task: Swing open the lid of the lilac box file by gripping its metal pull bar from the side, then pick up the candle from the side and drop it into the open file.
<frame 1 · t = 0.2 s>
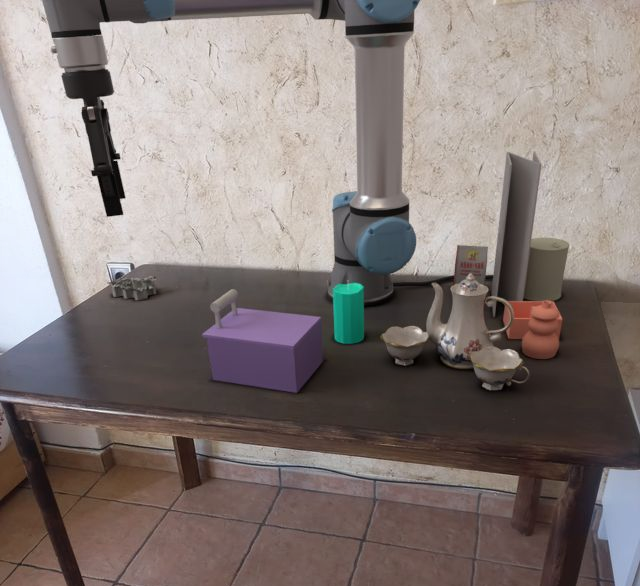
hand: (116, 207, 109), 28 cm above the table, tool pointing down, fingers open, 13 cm apart
small printed carton: (468, 289, 144), on the table
chinaware: (455, 366, 112), on the table
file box: (269, 370, 114), on the table
pottery: (533, 339, 120), on the table
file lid: (261, 314, 108), point 11 cm above the table, hinge at 0.0°
can: (539, 295, 139), on the table
egg carton: (134, 295, 151), on the table
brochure: (505, 305, 135), on the table
candle: (349, 338, 124), on the table
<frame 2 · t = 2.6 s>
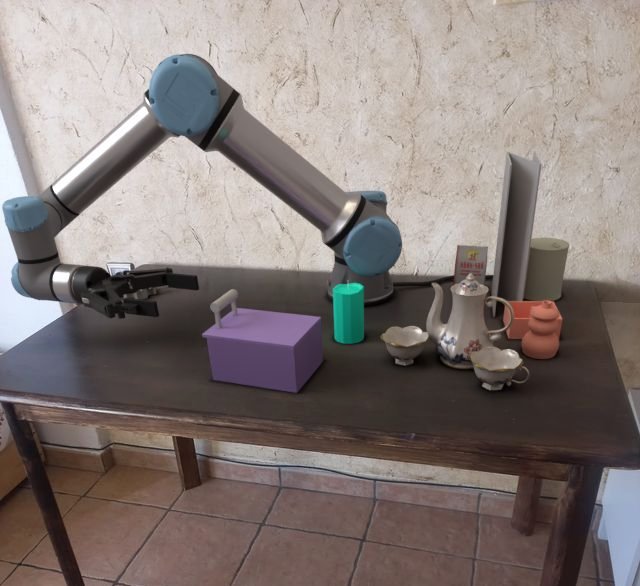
hand: (178, 295, 112), 13 cm above the table, tool horizontal, fingers open, 13 cm apart
nothing on the table moved.
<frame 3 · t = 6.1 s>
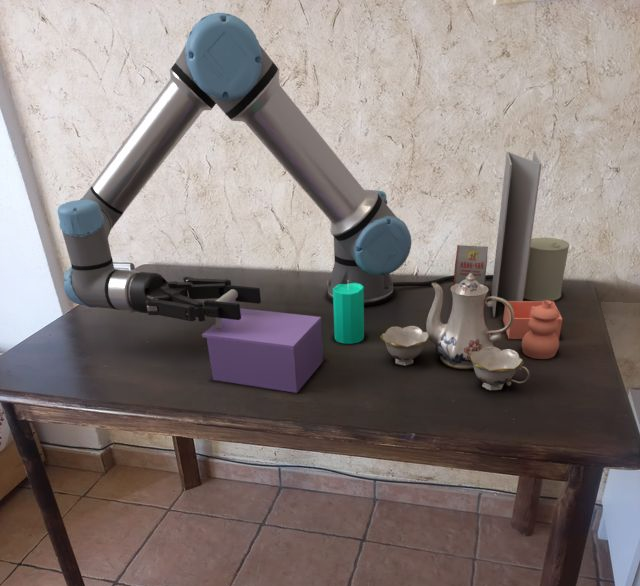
hand: (249, 303, 108), 13 cm above the table, tool horizontal, fingers closed on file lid, 7 cm apart
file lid: (261, 314, 108), point 11 cm above the table, hinge at 0.0°, touching gripper
everything else where it was.
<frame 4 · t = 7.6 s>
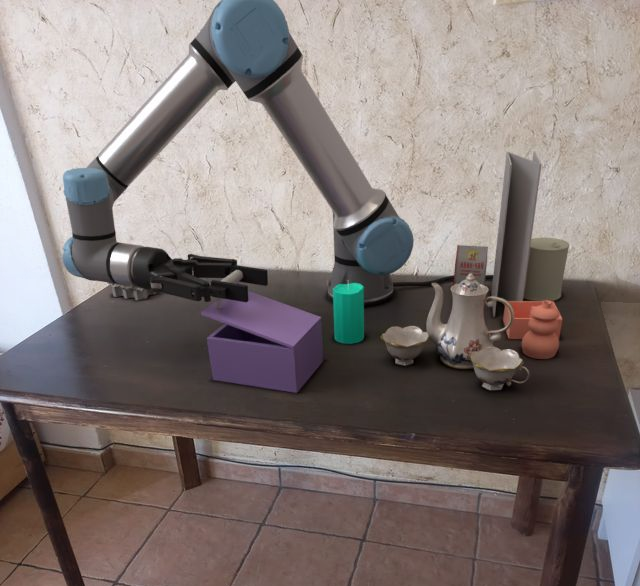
hand: (257, 285, 105), 16 cm above the table, tool horizontal, fingers closed on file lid, 7 cm apart
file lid: (264, 303, 107), point 13 cm above the table, hinge at 14.1°, touching gripper
everything else where it was.
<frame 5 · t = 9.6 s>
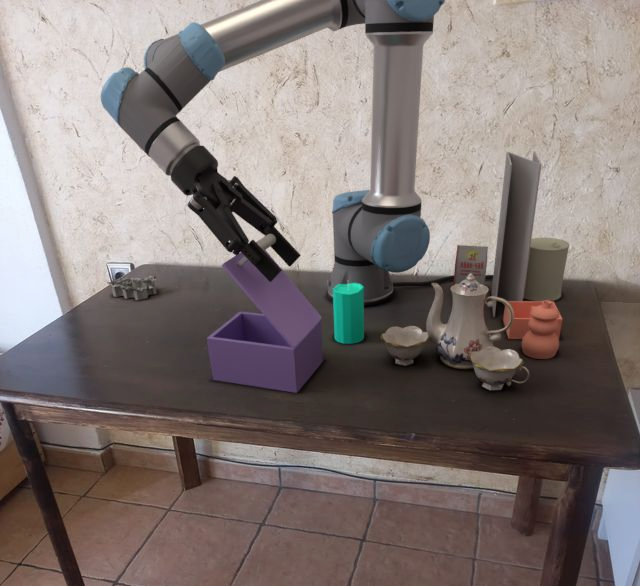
hand: (285, 268, 101), 20 cm above the table, tool tilted 45°, fingers closed on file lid, 7 cm apart
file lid: (283, 285, 103), point 17 cm above the table, hinge at 48.9°, touching gripper
everything else where it was.
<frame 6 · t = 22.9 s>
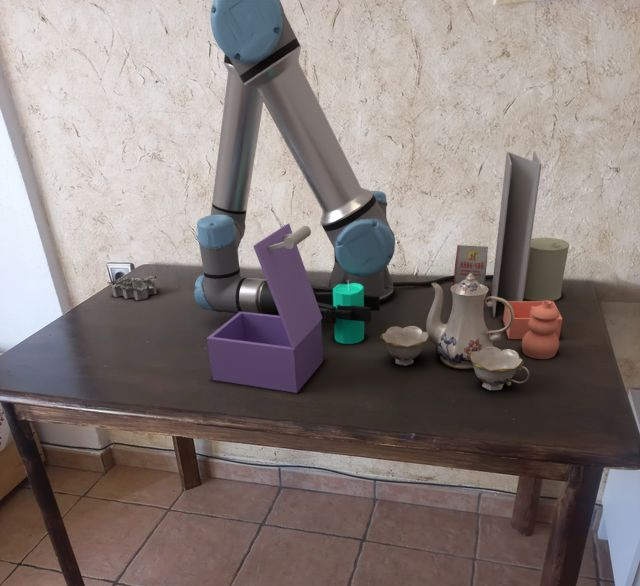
hand: (374, 309, 119), 7 cm above the table, tool horizontal, fingers closed on candle, 5 cm apart
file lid: (302, 281, 102), point 18 cm above the table, hinge at 72.3°
candle: (349, 338, 124), on the table, touching gripper
everything else where it was.
when the fingers open (11 cm above the table, at t = 40.0 s): candle drops 1 cm, resting on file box.
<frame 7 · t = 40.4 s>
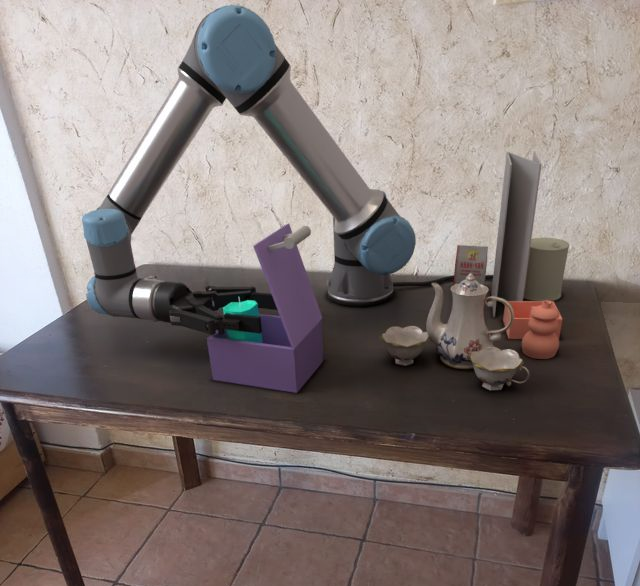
hand: (273, 313, 107), 11 cm above the table, tool horizontal, fingers open, 9 cm apart
candle: (248, 362, 111), point 3 cm above the table, touching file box, gripper
everything else where it was.
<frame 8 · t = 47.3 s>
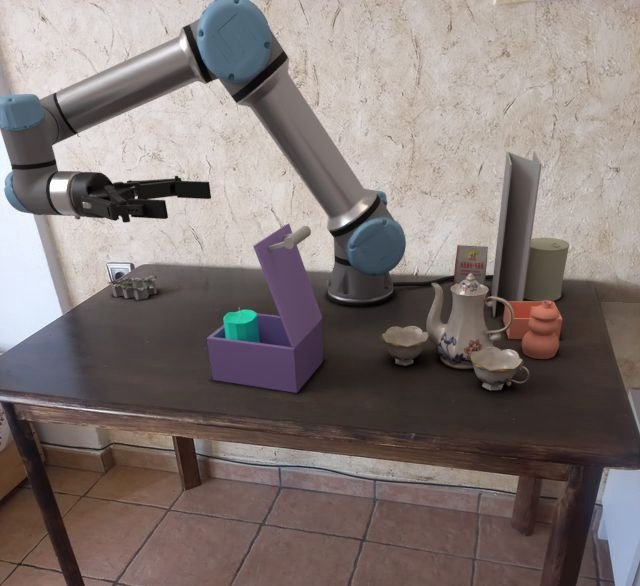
hand: (188, 199, 101), 30 cm above the table, tool horizontal, fingers open, 13 cm apart
candle: (246, 370, 113), point 1 cm above the table, touching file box
everything else where it was.
at the end: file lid at +72° (first picture: +0°); candle 4.1 cm from the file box (horizontally); candle point 0.6 cm above the table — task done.
